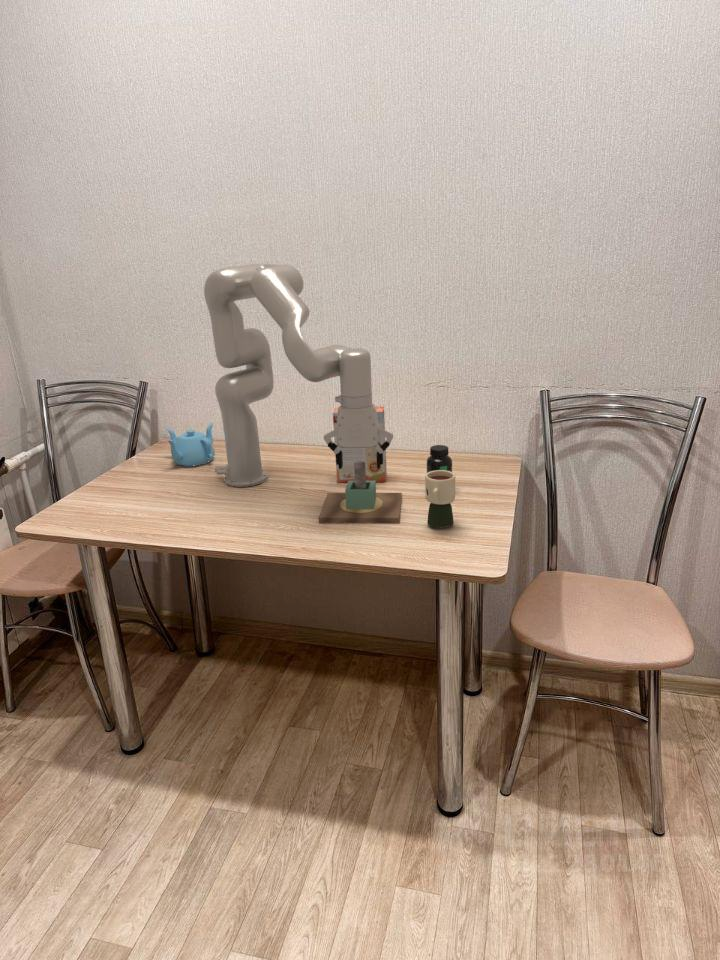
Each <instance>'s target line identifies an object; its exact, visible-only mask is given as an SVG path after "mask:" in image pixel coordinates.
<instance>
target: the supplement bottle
mask: <svg viewBox="0 0 720 960" xmlns="http://www.w3.org/2000/svg"><path fill="white" fill-rule="evenodd" d="M449 453H450V452H449V447H448V446H447V445H444V444H443V445H442V444H435V445H431V446H430V449H429V456H428V457H427V459H426V473H428V472H431V471H436V470H446V471H450V472H453V459H452V457H451V456H449Z"/></svg>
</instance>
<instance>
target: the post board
mask: <svg viewBox="0 0 720 960" xmlns="http://www.w3.org/2000/svg"><path fill="white" fill-rule="evenodd" d="M354 472H355V489H366V470H365V462H361V461H359V462H355V463H354ZM402 498H403V493H402V492H376V501H375V506H374V509H346V498H345V492H327V493H326V496H325V497H324V501H323V503H322V507H321V510H320V512H319V516H318V524H400V521H401V513H402V512H401V511H402V500H403V499H402Z"/></svg>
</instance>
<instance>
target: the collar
mask: <svg viewBox="0 0 720 960" xmlns="http://www.w3.org/2000/svg"><path fill="white" fill-rule="evenodd" d="M376 483H377V482H376V481H366V489H355V481H348V482H347V484H346V487H345V491H344V493H345V498H346V509H374V506H375V501H376V493H377V486H376V485H377V484H376Z"/></svg>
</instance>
